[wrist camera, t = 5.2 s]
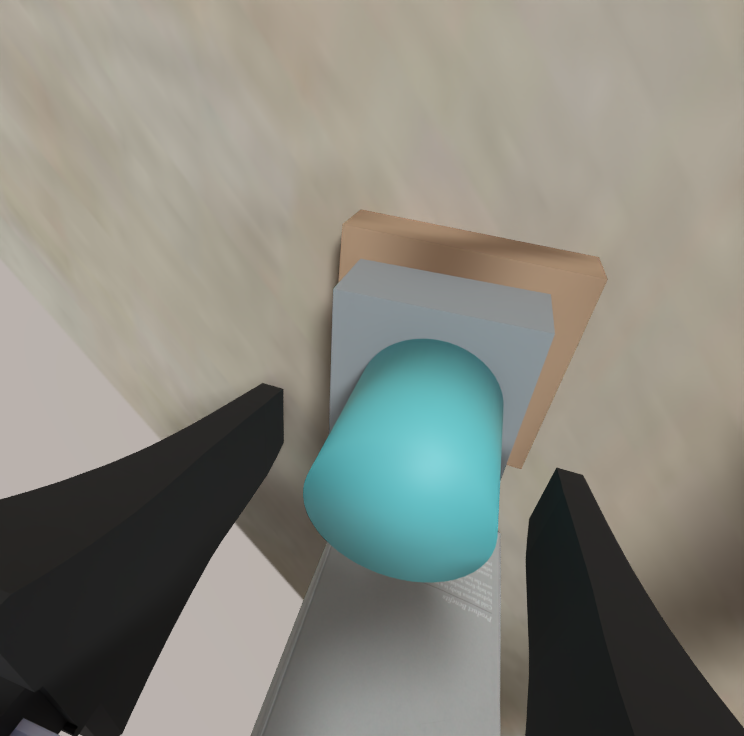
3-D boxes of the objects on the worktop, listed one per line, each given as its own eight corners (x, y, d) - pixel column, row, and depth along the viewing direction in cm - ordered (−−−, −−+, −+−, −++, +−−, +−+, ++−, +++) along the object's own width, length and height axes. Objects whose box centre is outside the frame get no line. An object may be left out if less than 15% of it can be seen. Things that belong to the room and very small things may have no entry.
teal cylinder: (526, 364, 12) (529, 488, 8) (477, 473, 14) (463, 604, 11) (372, 320, 12) (311, 417, 9) (350, 432, 15) (296, 543, 11)
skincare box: (331, 532, 26) (152, 949, 14) (361, 458, 22) (142, 966, 10) (462, 591, 26) (399, 1082, 13) (519, 527, 22) (506, 1163, 9)
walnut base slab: (596, 251, 14) (607, 279, 12) (521, 427, 19) (521, 468, 17) (365, 205, 16) (342, 224, 14) (348, 380, 20) (329, 414, 18)
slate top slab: (550, 294, 13) (554, 333, 11) (501, 438, 17) (497, 488, 15) (360, 258, 14) (333, 288, 12) (351, 400, 18) (328, 442, 16)
